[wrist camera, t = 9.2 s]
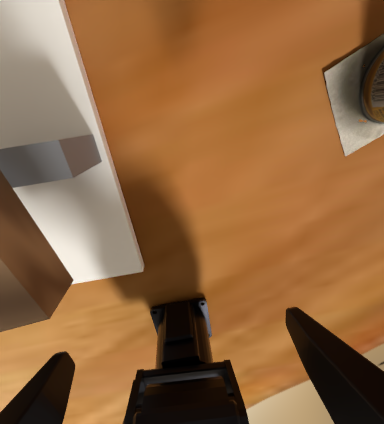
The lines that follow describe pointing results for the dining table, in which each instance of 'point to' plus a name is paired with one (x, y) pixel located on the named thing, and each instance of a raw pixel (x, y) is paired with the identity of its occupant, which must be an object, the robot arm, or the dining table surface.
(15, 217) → the walnut bar
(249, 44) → the dining table surface
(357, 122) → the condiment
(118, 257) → the balance stand
